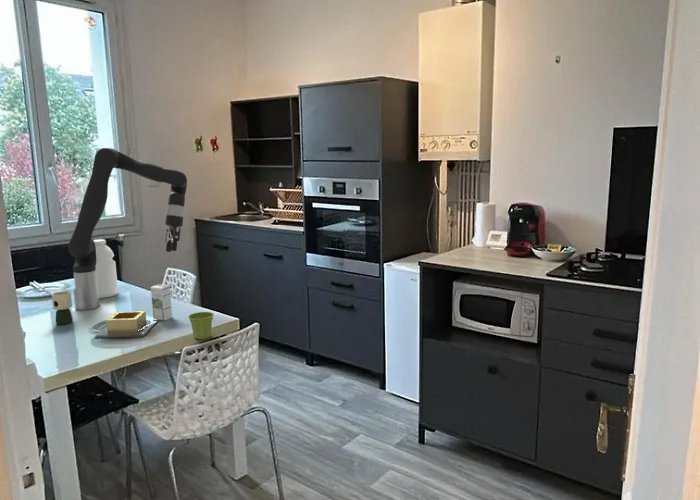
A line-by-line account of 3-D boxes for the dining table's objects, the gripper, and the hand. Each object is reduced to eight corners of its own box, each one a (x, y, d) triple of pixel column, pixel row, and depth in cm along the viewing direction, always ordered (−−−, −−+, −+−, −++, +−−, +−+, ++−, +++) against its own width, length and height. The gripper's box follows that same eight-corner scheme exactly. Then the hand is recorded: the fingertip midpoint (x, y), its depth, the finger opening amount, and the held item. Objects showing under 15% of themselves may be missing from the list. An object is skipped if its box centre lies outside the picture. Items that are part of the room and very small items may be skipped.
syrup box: (172, 317, 230) (170, 284, 228) (164, 321, 225) (161, 287, 222) (161, 316, 232) (159, 283, 230) (152, 320, 227) (150, 286, 224)
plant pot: (191, 342, 198) (189, 320, 196) (188, 335, 206) (186, 313, 205) (217, 339, 202) (215, 316, 200) (212, 331, 210) (211, 310, 209)
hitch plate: (95, 338, 205) (94, 323, 204) (113, 323, 222) (111, 309, 221) (143, 336, 206) (142, 321, 205) (157, 322, 223) (156, 308, 222)
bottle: (103, 290, 279) (98, 237, 274) (124, 292, 274) (119, 238, 270) (81, 297, 266) (75, 241, 261) (103, 299, 261) (98, 243, 256)
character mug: (51, 322, 226) (47, 292, 223) (69, 318, 230) (66, 289, 228) (59, 328, 218) (55, 297, 215) (77, 324, 223) (74, 293, 220)
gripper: (162, 216, 247) (158, 251, 245) (170, 212, 235) (166, 249, 233) (178, 218, 251) (174, 253, 249) (187, 215, 239) (183, 251, 237)
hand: (170, 251), depth 241 cm, fingers open, 8 cm apart
